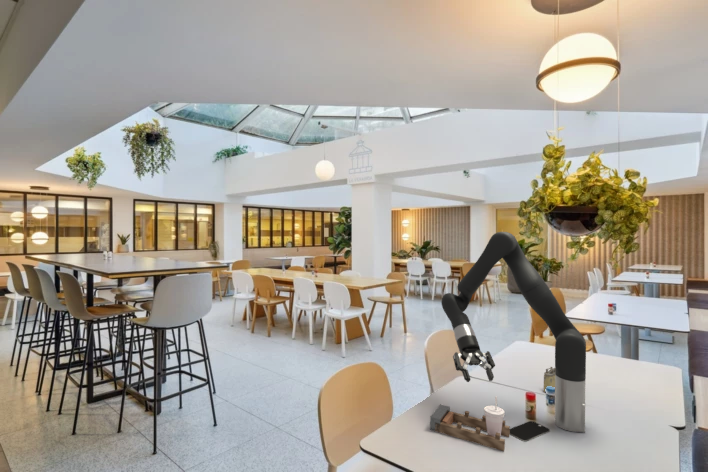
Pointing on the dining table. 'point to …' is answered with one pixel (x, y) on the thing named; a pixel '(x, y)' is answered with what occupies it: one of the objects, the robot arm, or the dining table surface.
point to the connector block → (438, 416)
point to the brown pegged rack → (472, 435)
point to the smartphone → (528, 431)
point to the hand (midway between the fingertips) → (480, 380)
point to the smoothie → (494, 419)
